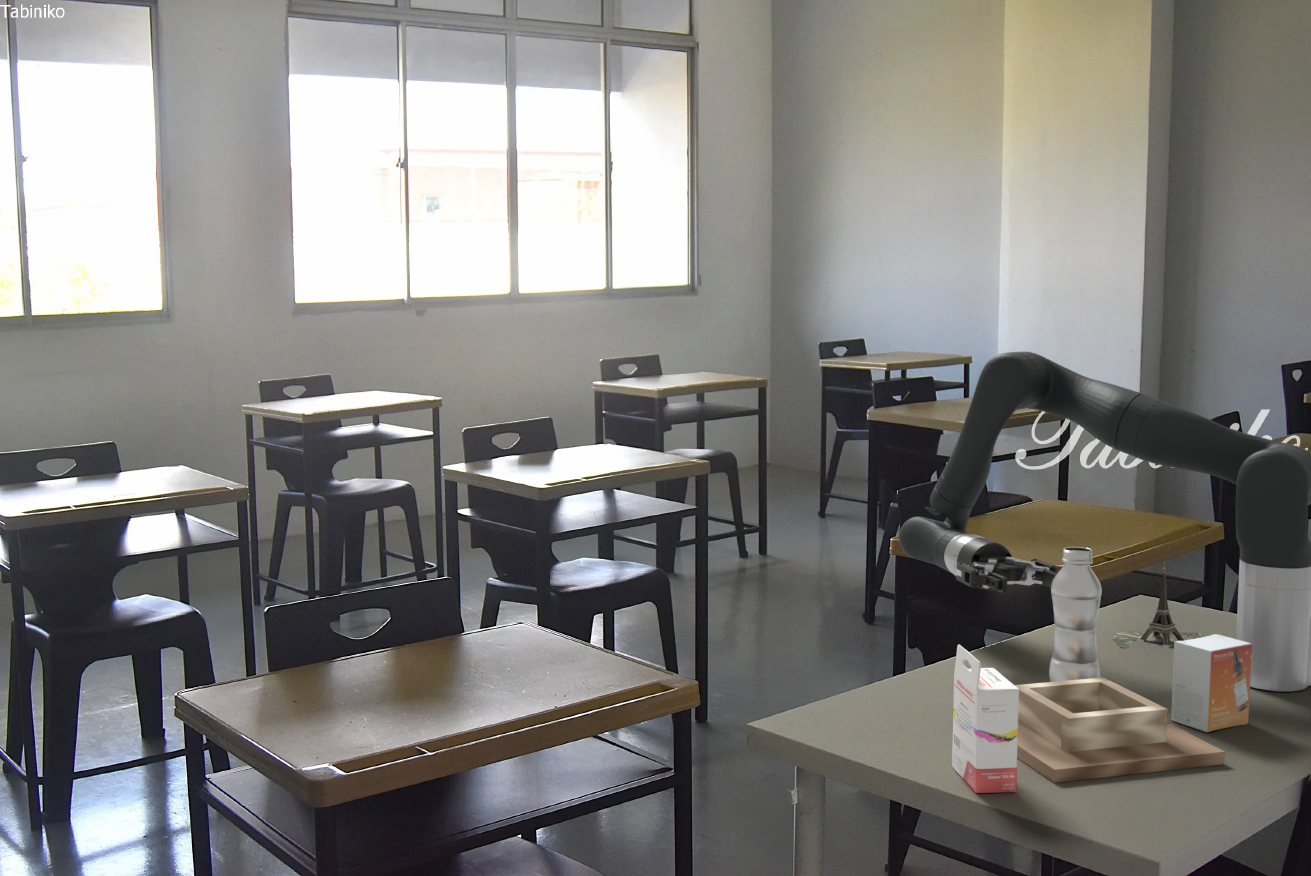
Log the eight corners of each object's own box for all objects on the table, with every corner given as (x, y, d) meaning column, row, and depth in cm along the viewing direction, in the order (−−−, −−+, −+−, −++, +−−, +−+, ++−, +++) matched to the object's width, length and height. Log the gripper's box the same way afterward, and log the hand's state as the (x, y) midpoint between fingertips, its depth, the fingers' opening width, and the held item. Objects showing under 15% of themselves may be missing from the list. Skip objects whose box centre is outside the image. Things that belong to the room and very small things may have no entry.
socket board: (1112, 705, 167) (1113, 664, 166) (1224, 764, 145) (1226, 717, 145) (961, 719, 161) (961, 677, 161) (1054, 782, 140) (1055, 734, 140)
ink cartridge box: (1019, 793, 137) (1022, 662, 136) (975, 794, 137) (977, 663, 135) (992, 764, 146) (994, 640, 144) (950, 766, 146) (952, 642, 144)
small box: (1206, 734, 156) (1210, 651, 154) (1169, 720, 160) (1172, 640, 159) (1250, 723, 159) (1253, 642, 158) (1212, 711, 164) (1215, 632, 163)
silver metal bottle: (1103, 701, 168) (1107, 554, 166) (1050, 698, 169) (1054, 553, 167) (1096, 687, 174) (1100, 545, 172) (1045, 684, 176) (1049, 544, 174)
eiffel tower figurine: (1201, 636, 202) (1204, 554, 201) (1222, 653, 192) (1226, 568, 191) (1105, 634, 204) (1107, 553, 202) (1120, 651, 194) (1123, 566, 192)
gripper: (936, 539, 195) (988, 561, 179) (1019, 535, 198) (1077, 556, 183) (935, 586, 196) (986, 612, 180) (1017, 581, 199) (1074, 606, 184)
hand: (1031, 584), depth 181 cm, fingers open, 8 cm apart
